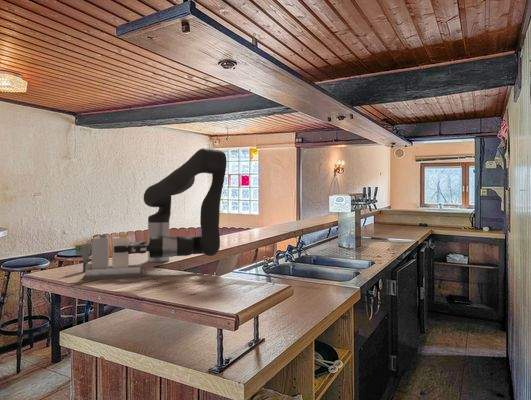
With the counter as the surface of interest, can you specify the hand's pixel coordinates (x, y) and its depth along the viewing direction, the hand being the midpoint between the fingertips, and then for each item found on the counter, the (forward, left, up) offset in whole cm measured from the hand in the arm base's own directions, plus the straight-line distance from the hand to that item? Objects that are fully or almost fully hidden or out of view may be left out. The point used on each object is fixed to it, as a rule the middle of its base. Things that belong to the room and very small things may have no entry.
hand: (114, 248), depth 132 cm
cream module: (0, +2, -8) cm, 9 cm away
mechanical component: (-14, -11, -10) cm, 20 cm away
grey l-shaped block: (0, 0, -10) cm, 10 cm away
